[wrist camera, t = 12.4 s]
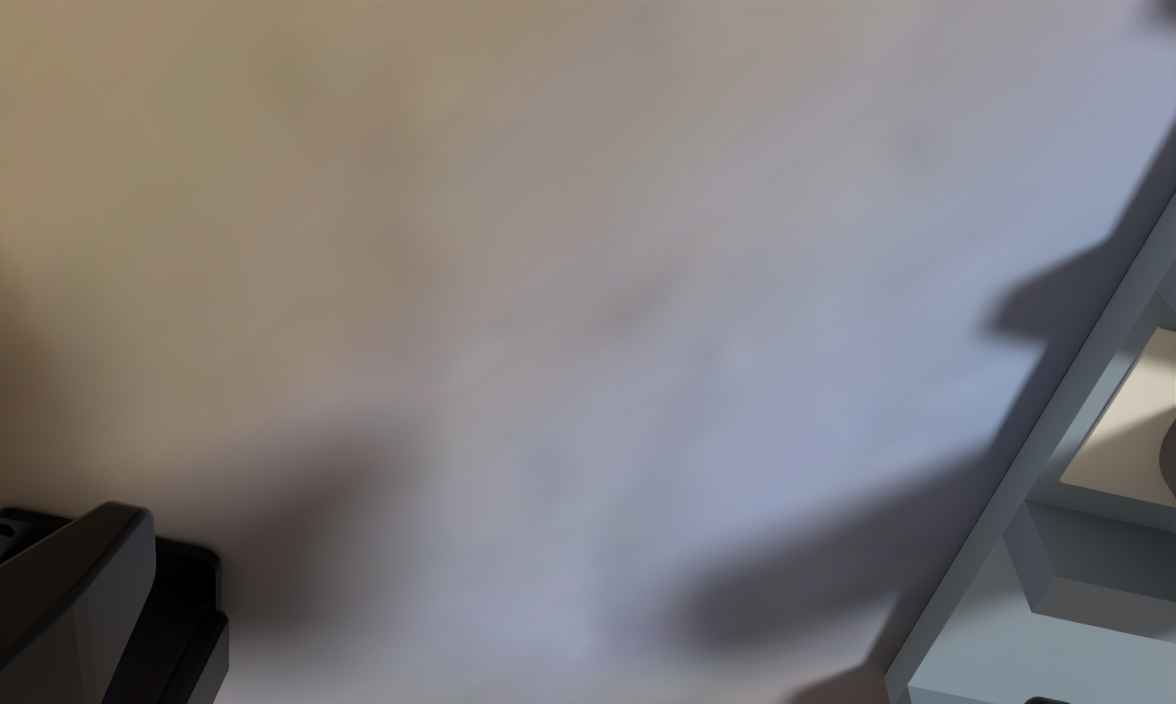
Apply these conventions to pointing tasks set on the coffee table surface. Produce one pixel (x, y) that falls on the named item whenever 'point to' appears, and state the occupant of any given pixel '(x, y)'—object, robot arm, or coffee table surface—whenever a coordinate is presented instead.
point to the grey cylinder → (1169, 458)
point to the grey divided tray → (1072, 532)
